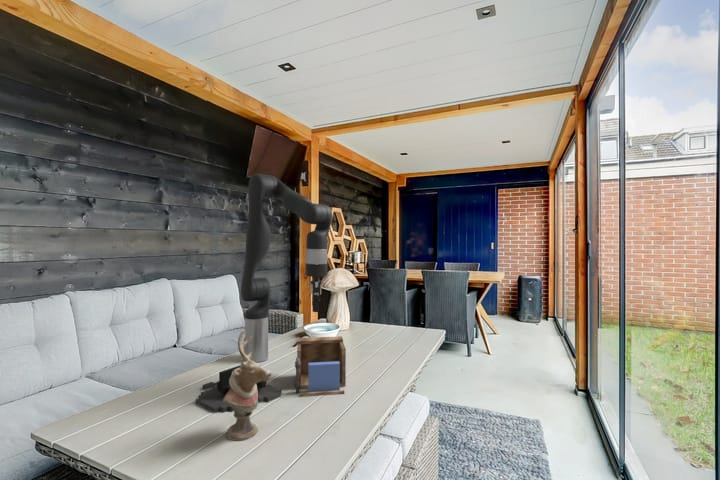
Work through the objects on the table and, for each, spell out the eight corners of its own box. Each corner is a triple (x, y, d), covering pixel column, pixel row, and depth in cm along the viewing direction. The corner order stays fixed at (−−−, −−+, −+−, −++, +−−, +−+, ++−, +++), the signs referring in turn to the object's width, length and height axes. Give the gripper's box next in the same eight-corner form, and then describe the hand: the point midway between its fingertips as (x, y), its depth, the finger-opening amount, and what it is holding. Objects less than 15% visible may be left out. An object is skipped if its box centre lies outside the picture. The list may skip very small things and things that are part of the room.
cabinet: (294, 396, 110) (294, 353, 110) (295, 375, 127) (296, 338, 127) (347, 393, 112) (347, 351, 112) (341, 373, 130) (341, 336, 130)
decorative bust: (279, 436, 85) (265, 332, 87) (224, 450, 82) (210, 342, 84) (279, 418, 96) (267, 326, 97) (230, 430, 93) (218, 335, 94)
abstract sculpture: (182, 367, 110) (237, 351, 126) (182, 397, 110) (237, 377, 126) (228, 388, 95) (285, 366, 111) (228, 421, 95) (284, 395, 111)
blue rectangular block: (308, 393, 112) (308, 365, 112) (308, 390, 115) (308, 362, 115) (339, 391, 114) (339, 363, 114) (339, 388, 116) (339, 361, 116)
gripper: (305, 260, 127) (304, 304, 128) (305, 263, 113) (304, 314, 114) (326, 260, 129) (325, 304, 129) (328, 264, 115) (327, 313, 115)
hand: (315, 309), depth 121 cm, fingers open, 8 cm apart
